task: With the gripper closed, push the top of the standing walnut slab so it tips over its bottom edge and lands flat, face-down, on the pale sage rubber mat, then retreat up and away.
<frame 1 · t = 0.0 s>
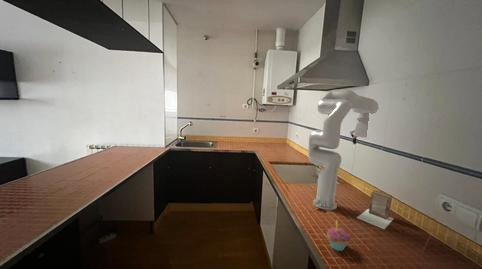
hand: (361, 145, 141), 31 cm above the counter, fingers open, 9 cm apart
mat: (375, 218, 104), on the counter
slab: (378, 215, 107), resting on mat
cupcake: (336, 247, 81), on the counter
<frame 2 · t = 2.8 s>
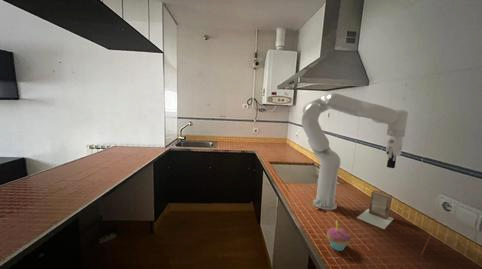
hand: (390, 167, 109), 25 cm above the counter, fingers closed
nothing on the counter moved.
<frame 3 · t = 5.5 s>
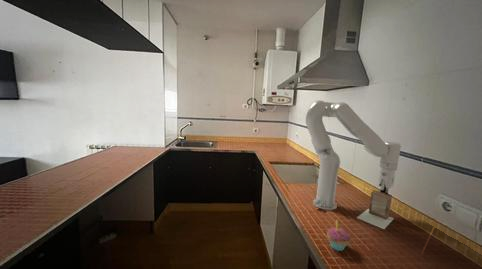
hand: (383, 198, 108), 9 cm above the counter, fingers closed
nothing on the counter moved.
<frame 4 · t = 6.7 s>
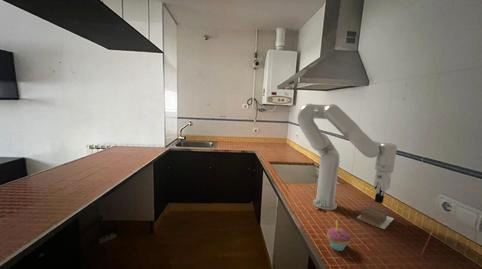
hand: (378, 202, 104), 9 cm above the counter, fingers closed
slab: (377, 212, 105), point 3 cm above the counter, tilted 90°, touching mat
everything else where it was.
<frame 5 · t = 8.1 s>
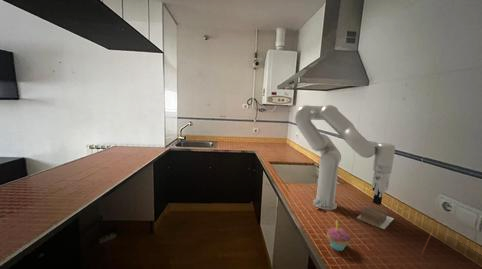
hand: (376, 203, 102), 9 cm above the counter, fingers closed
nothing on the counter moved.
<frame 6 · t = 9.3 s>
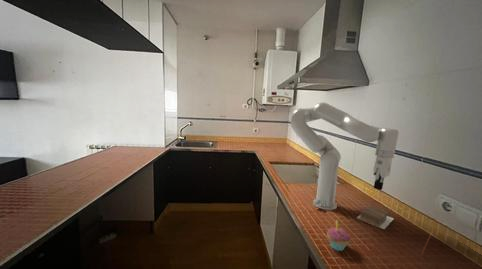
hand: (377, 188, 102), 16 cm above the counter, fingers closed
nothing on the counter moved.
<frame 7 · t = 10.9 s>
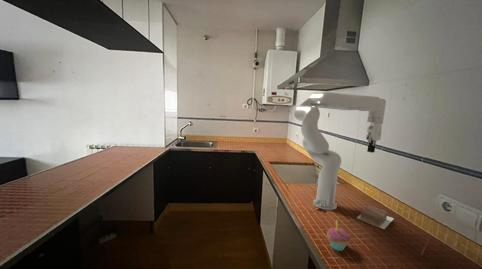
hand: (370, 152, 118), 31 cm above the counter, fingers closed
nothing on the counter moved.
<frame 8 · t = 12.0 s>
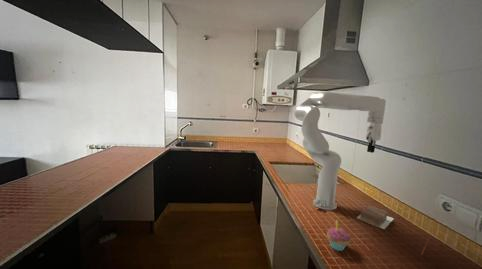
hand: (370, 152, 118), 31 cm above the counter, fingers closed
nothing on the counter moved.
at the end: slab tilted 90°; slab inside the target area (3.9 cm from its centre), point 2.6 cm above the counter; the gripper is holding nothing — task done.
